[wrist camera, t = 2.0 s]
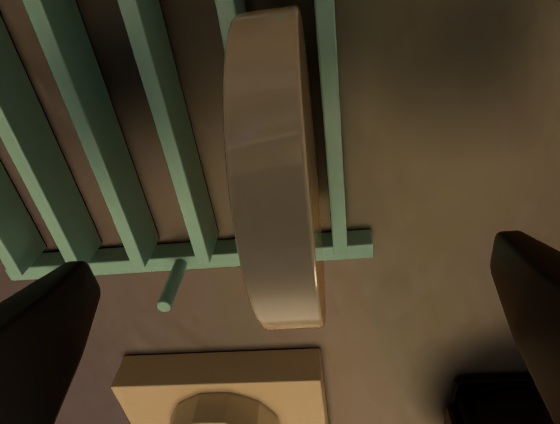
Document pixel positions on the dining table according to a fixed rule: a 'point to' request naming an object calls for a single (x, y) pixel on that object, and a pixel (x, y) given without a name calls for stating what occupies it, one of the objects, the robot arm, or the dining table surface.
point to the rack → (116, 159)
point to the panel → (223, 388)
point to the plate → (274, 168)
